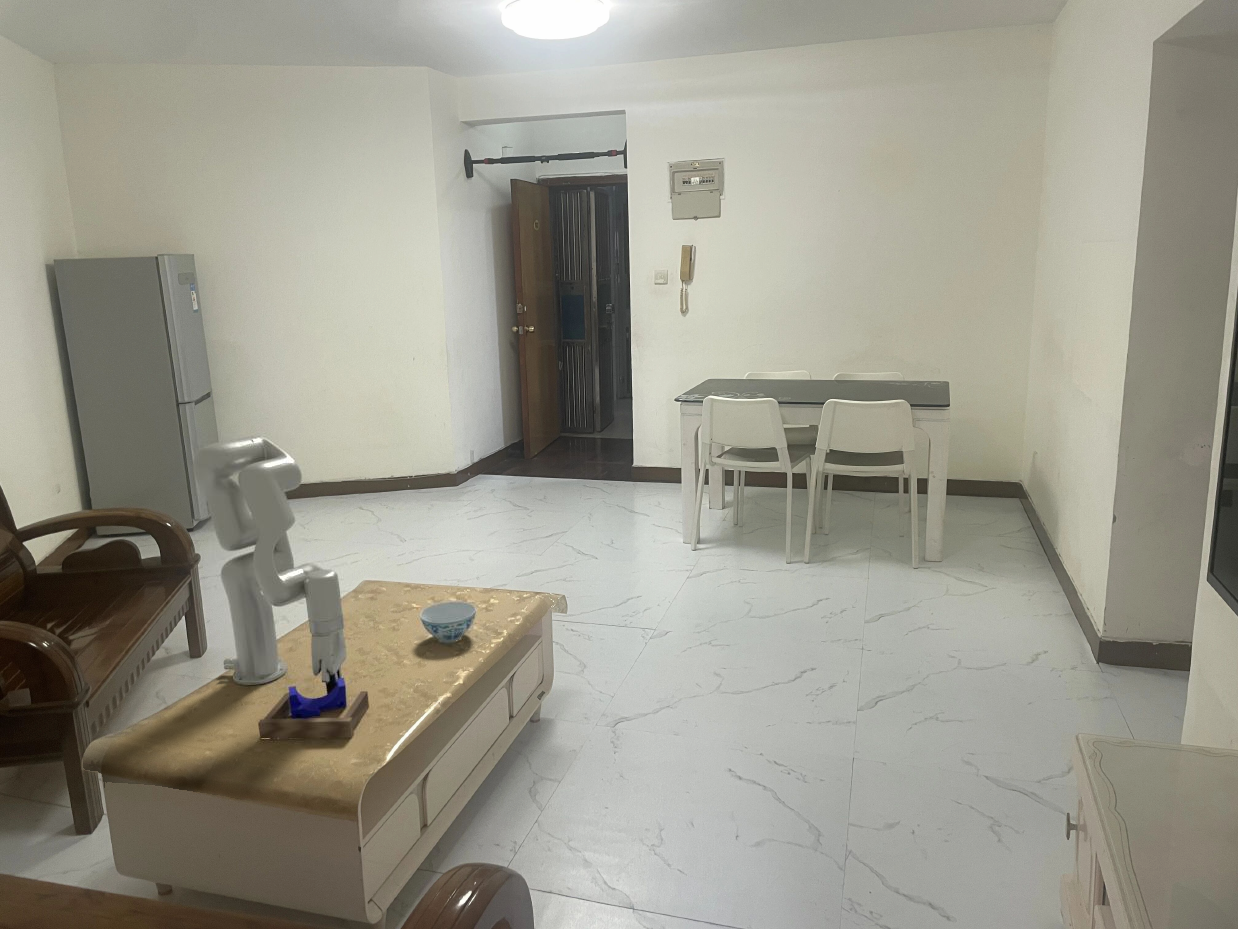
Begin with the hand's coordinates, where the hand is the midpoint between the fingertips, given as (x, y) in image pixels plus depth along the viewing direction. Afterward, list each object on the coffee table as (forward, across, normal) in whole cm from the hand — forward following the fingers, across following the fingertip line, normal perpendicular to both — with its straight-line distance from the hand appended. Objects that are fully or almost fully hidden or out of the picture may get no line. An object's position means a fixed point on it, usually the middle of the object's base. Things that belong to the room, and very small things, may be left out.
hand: (335, 696), depth 200 cm
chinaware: (+1, -34, +20) cm, 39 cm away
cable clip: (+1, +5, -2) cm, 6 cm away
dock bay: (+1, +10, 0) cm, 10 cm away
